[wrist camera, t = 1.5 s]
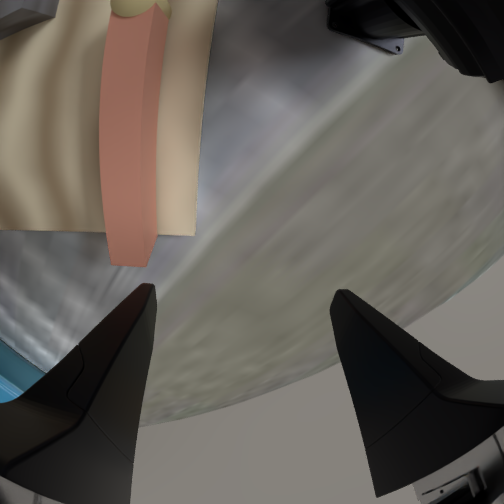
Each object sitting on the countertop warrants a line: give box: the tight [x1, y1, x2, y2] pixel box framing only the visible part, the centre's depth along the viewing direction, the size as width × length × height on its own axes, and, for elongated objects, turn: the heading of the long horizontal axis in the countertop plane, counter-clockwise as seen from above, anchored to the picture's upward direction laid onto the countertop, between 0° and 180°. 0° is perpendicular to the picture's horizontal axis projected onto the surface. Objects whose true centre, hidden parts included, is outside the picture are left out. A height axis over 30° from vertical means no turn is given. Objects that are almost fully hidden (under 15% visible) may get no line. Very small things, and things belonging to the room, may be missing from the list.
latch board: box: [0, 0, 218, 236], centre depth 12 cm, size 22×20×6 cm
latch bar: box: [99, 0, 172, 267], centre depth 13 cm, size 17×3×4 cm, turn 173°
